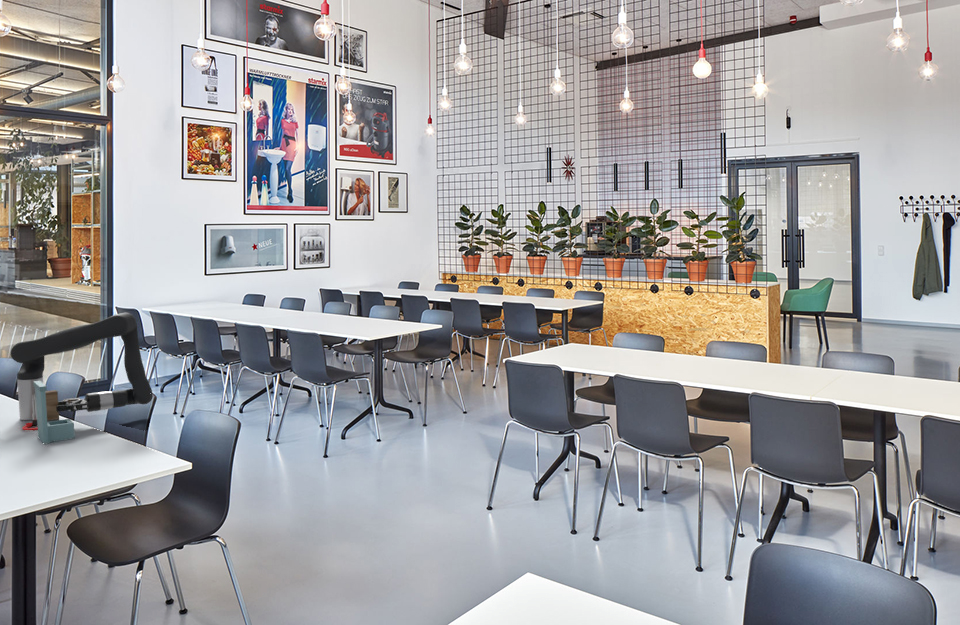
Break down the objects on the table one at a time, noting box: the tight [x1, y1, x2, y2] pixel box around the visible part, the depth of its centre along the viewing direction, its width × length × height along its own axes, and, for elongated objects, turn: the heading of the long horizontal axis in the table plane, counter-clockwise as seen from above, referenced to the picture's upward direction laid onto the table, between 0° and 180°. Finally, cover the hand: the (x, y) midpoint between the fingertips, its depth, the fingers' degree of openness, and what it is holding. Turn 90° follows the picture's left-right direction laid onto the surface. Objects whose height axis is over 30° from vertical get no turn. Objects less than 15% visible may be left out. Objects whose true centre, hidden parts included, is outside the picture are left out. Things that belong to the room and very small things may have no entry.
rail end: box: [45, 389, 60, 422], centre depth 285 cm, size 4×4×16 cm
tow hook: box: [21, 395, 38, 431], centre depth 290 cm, size 8×13×9 cm
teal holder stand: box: [33, 381, 76, 445], centre depth 274 cm, size 14×11×22 cm
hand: (54, 407), depth 285 cm, fingers open, 8 cm apart
